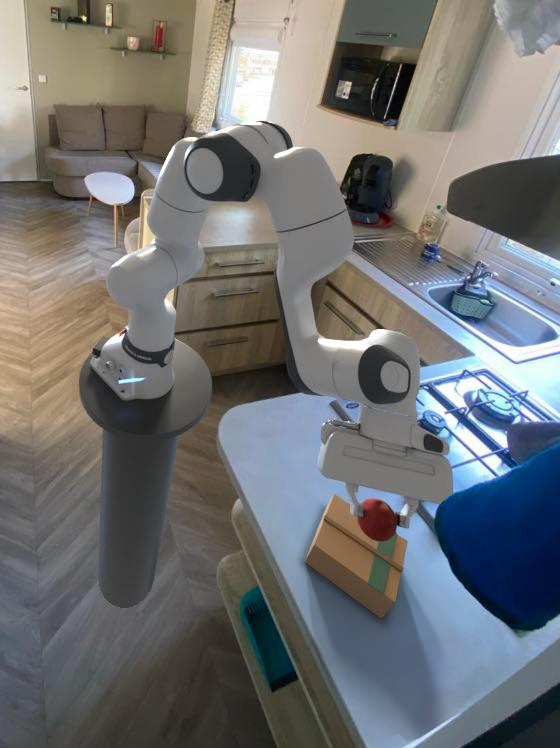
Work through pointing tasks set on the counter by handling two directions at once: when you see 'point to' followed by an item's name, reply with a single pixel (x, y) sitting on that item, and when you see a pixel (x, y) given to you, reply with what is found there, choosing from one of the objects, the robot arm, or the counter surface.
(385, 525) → the red round fruit
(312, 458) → the counter surface
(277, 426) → the counter surface
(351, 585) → the brown cardboard box
